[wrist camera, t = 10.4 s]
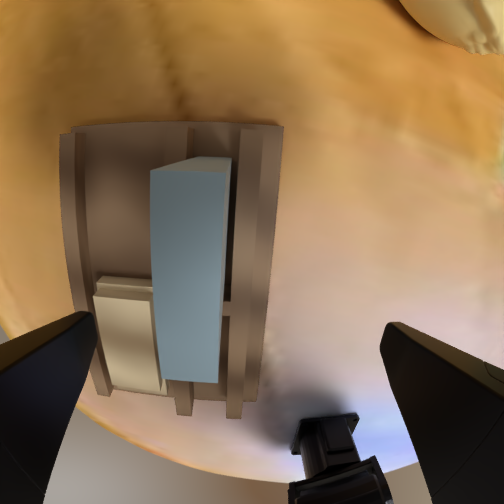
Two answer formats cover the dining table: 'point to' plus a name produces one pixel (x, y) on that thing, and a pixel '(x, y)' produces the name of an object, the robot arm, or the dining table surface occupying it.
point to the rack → (138, 232)
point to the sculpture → (462, 22)
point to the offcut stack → (129, 333)
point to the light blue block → (189, 264)
